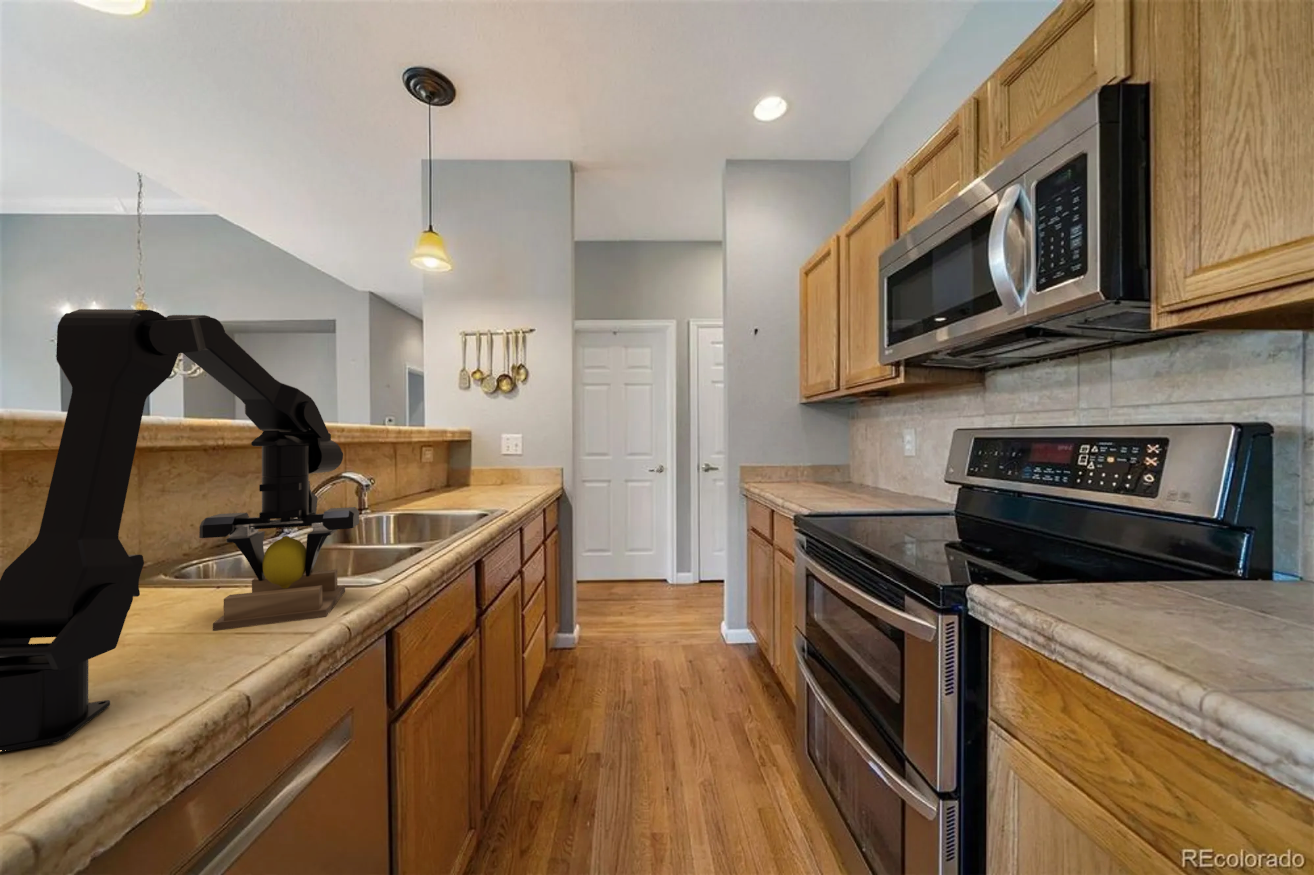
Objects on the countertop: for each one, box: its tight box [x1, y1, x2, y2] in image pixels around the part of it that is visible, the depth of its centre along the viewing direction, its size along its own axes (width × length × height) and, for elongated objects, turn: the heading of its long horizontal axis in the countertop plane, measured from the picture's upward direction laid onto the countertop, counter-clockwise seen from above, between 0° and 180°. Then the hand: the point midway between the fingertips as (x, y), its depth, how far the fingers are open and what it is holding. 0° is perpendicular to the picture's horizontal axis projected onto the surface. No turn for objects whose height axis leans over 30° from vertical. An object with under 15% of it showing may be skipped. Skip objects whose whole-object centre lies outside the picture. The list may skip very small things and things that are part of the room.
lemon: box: [262, 535, 306, 588], centre depth 74 cm, size 6×6×8 cm
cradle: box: [212, 569, 346, 631], centre depth 74 cm, size 13×13×4 cm
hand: (285, 578), depth 74 cm, fingers closed on lemon, 5 cm apart
